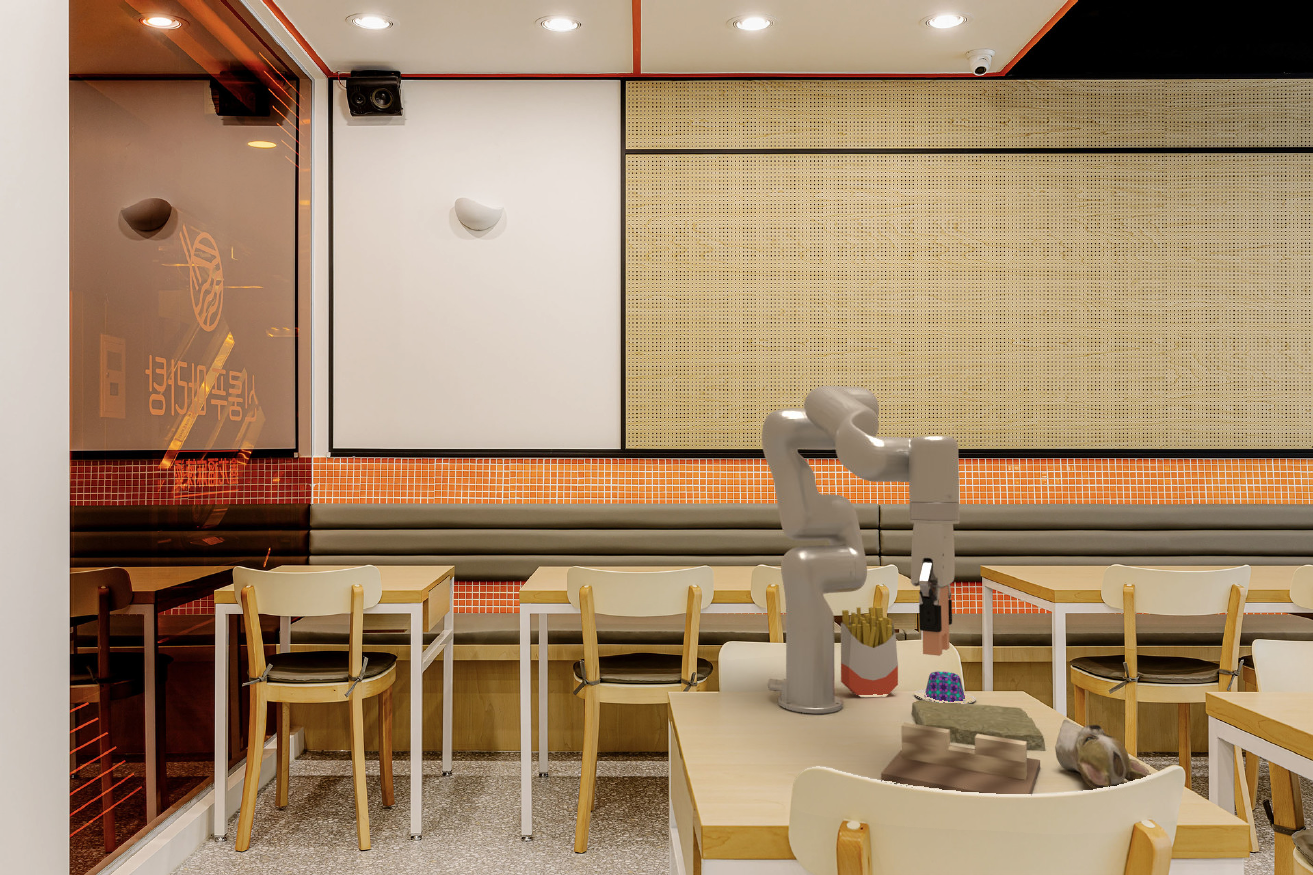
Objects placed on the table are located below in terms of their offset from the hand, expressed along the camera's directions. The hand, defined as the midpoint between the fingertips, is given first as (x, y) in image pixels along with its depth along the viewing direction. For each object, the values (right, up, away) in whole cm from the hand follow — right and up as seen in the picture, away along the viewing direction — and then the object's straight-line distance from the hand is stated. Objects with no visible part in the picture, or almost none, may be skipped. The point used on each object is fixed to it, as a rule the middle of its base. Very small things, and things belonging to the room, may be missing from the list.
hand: (936, 626), depth 129 cm
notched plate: (0, -4, 0) cm, 4 cm away
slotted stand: (+3, -22, -3) cm, 23 cm away
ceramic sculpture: (+23, -23, -5) cm, 32 cm away
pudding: (+16, -25, +41) cm, 50 cm away
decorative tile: (+14, -24, +19) cm, 33 cm away
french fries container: (+1, -24, +43) cm, 49 cm away
